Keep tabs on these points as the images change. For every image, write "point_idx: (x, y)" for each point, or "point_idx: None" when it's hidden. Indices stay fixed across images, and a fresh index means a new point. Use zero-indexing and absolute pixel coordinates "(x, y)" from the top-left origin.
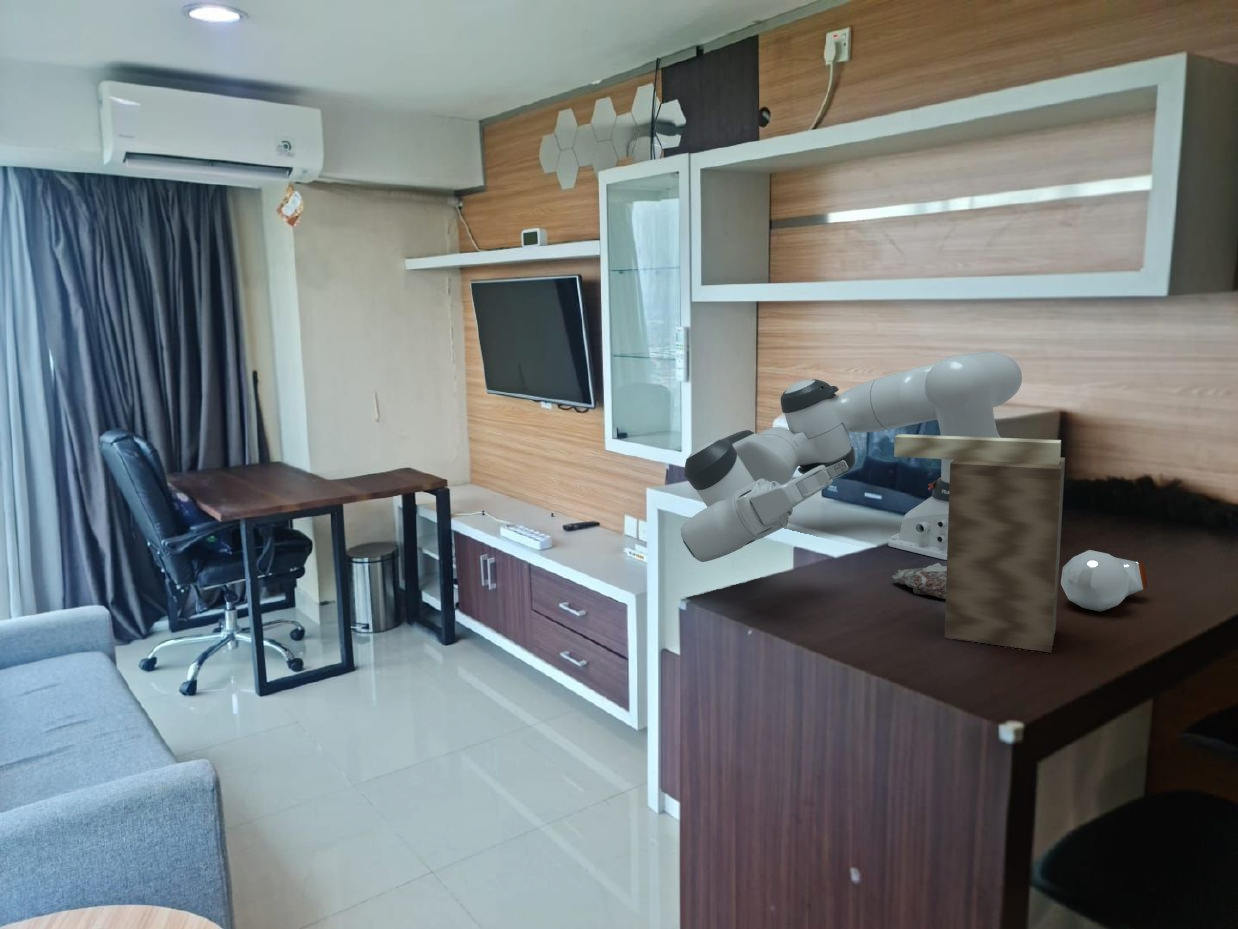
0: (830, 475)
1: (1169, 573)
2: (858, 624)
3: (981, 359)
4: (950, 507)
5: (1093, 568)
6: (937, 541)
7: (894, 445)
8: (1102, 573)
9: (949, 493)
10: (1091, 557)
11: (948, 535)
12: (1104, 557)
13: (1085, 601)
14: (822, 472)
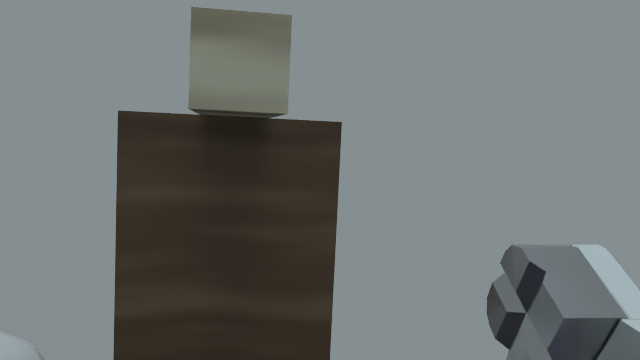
0: (500, 282)
1: None
2: None
3: None
4: (334, 254)
5: (29, 357)
6: None
7: (289, 58)
8: (39, 358)
9: (336, 214)
10: (5, 343)
11: (329, 339)
12: (6, 334)
13: None
14: (606, 258)
